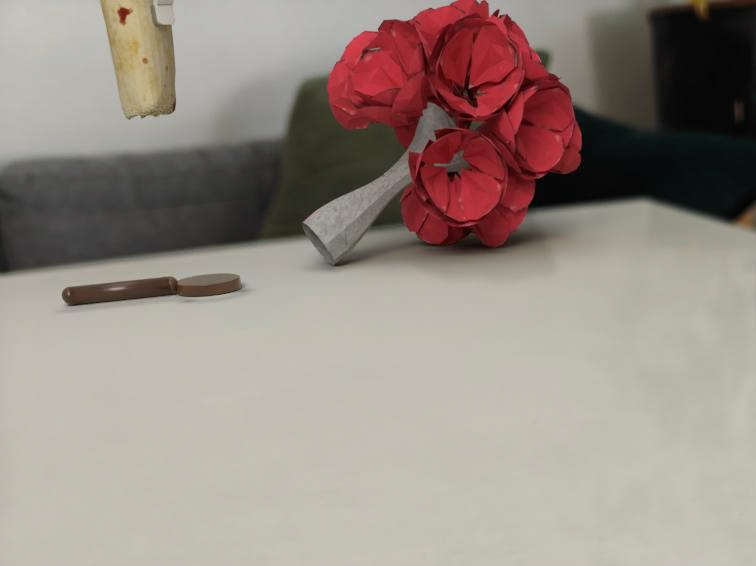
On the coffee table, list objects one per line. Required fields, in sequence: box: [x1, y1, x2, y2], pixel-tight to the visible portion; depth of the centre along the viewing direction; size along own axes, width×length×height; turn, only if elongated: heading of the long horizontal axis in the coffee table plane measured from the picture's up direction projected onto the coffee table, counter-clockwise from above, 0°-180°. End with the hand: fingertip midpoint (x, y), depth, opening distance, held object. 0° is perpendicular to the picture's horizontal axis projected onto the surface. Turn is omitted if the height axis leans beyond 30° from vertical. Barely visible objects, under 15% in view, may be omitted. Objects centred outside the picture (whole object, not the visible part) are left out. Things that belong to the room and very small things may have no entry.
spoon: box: [61, 272, 242, 306], centre depth 105 cm, size 16×6×2 cm, turn 104°
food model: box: [100, 0, 177, 121], centre depth 116 cm, size 10×7×20 cm
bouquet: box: [301, 0, 583, 266], centre depth 114 cm, size 22×24×30 cm
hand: (140, 27), depth 117 cm, fingers closed on food model, 8 cm apart
